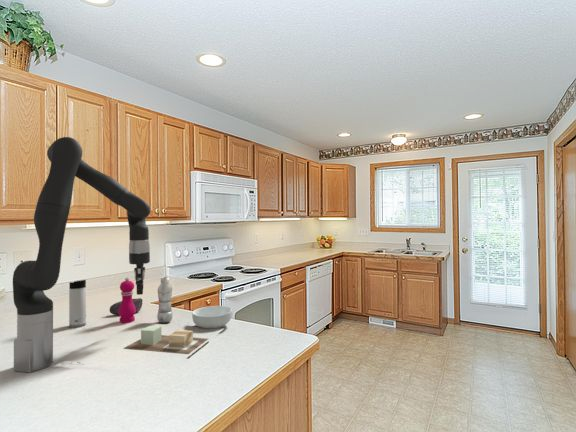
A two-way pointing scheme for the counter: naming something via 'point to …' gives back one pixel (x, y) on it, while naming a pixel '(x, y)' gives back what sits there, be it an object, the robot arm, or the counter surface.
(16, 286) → the robot arm
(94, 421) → the counter surface
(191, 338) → the maple block
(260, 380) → the counter surface
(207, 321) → the cereal bowl
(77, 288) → the travel mug
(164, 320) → the plastic bottle
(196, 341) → the brown flat wooden board
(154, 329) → the sage block
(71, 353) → the counter surface
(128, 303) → the pepper mill
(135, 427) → the counter surface
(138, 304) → the perforated stone tool
